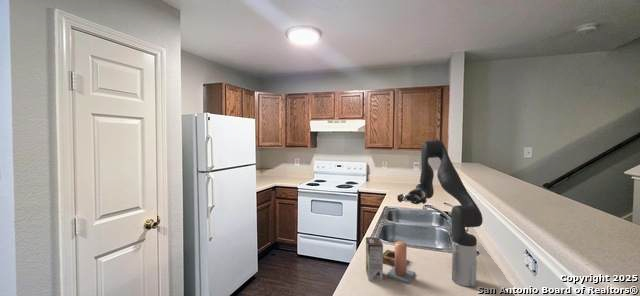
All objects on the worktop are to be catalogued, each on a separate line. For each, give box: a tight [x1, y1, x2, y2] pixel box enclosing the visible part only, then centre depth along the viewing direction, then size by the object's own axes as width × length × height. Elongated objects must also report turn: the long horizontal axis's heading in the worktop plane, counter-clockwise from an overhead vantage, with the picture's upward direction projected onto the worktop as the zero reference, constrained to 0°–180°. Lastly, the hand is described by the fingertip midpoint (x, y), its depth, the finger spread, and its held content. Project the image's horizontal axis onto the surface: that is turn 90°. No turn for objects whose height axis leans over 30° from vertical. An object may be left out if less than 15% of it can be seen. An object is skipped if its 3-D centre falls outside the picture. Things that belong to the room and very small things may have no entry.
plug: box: [394, 240, 407, 277], centre depth 124 cm, size 5×5×14 cm
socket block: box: [383, 249, 395, 267], centre depth 139 cm, size 10×10×3 cm
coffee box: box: [365, 236, 384, 282], centre depth 124 cm, size 9×6×16 cm
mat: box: [385, 266, 416, 285], centre depth 125 cm, size 10×10×1 cm
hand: (407, 201), depth 140 cm, fingers open, 8 cm apart
